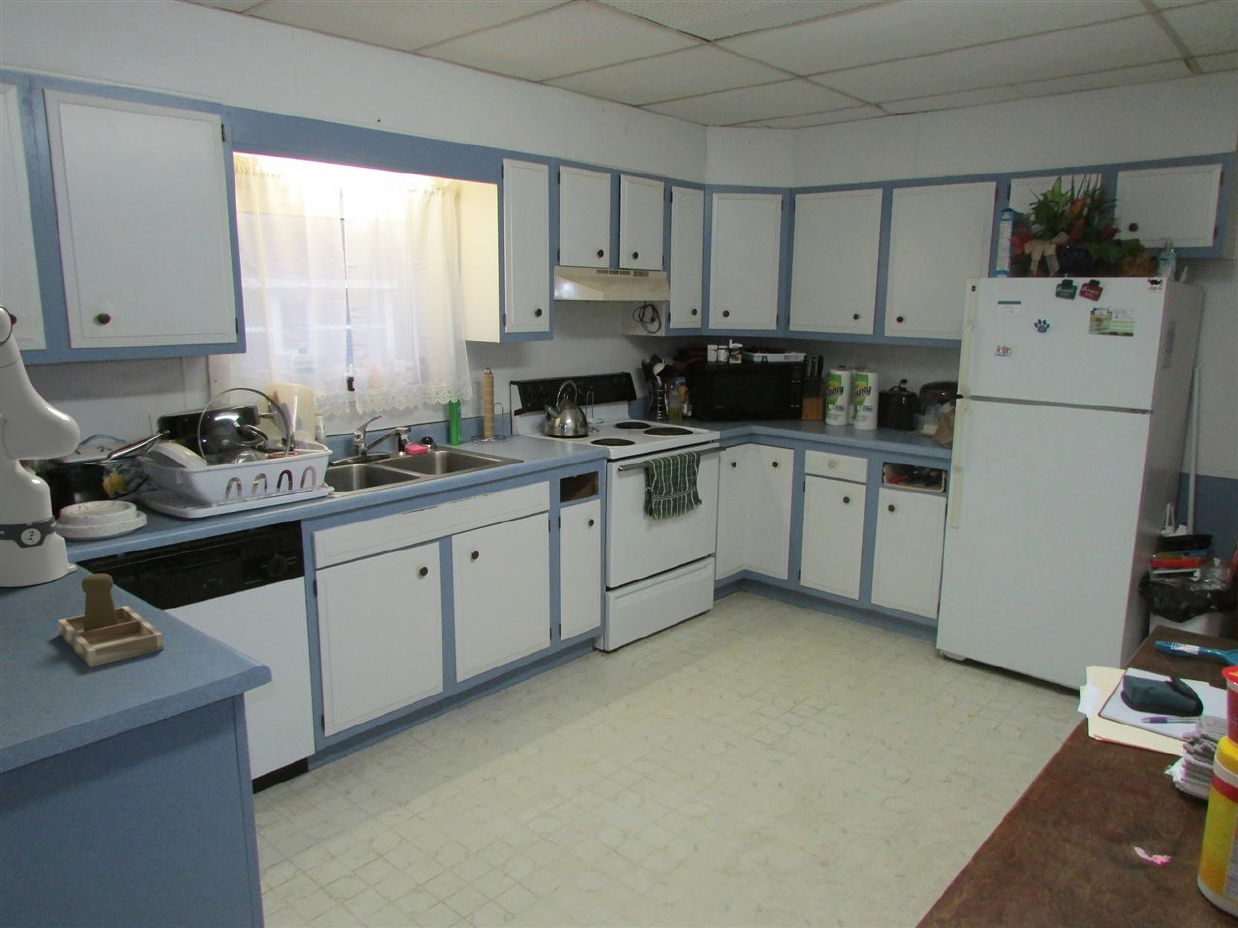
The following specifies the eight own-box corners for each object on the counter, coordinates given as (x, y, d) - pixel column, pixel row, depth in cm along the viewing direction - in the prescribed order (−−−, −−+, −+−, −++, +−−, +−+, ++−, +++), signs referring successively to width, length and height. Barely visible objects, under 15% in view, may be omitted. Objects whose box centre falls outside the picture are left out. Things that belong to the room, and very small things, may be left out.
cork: (80, 628, 165) (75, 574, 163) (115, 621, 169) (110, 568, 167) (87, 637, 161) (82, 582, 159) (123, 629, 165) (118, 575, 163)
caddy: (59, 634, 164) (58, 619, 164) (128, 619, 173) (126, 605, 172) (90, 667, 150) (88, 651, 149) (163, 649, 158) (162, 633, 158)
